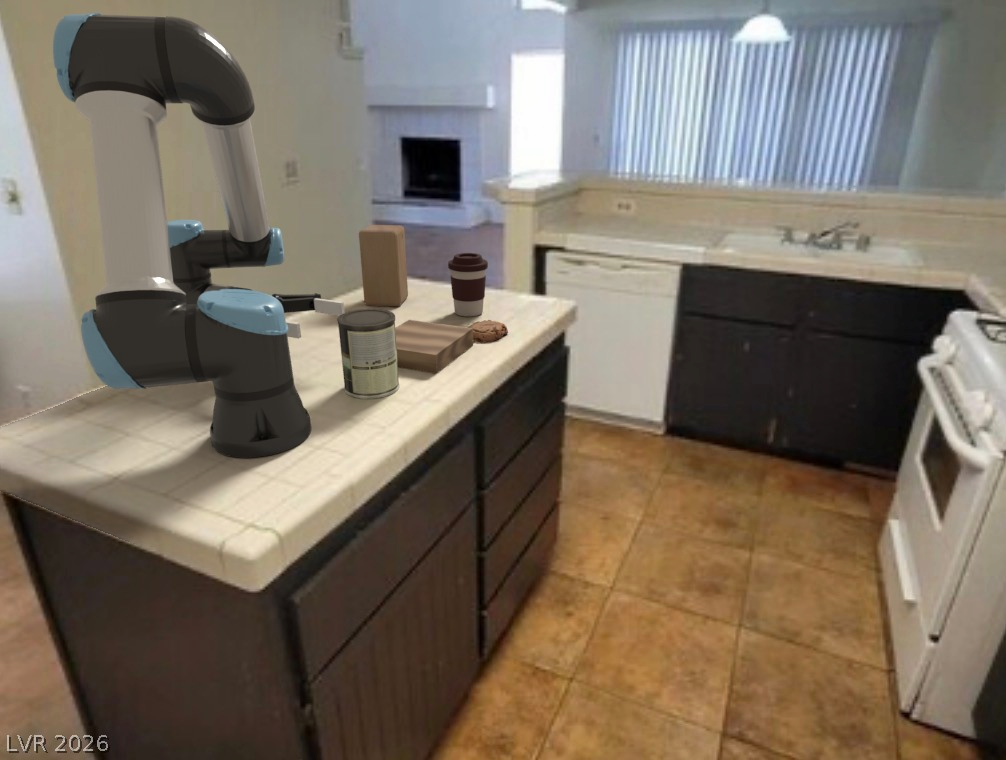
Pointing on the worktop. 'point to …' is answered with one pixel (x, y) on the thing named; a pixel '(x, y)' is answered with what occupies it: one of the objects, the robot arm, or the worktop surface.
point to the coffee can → (369, 353)
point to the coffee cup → (468, 283)
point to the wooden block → (383, 265)
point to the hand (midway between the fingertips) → (322, 319)
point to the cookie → (488, 330)
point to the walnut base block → (430, 345)
